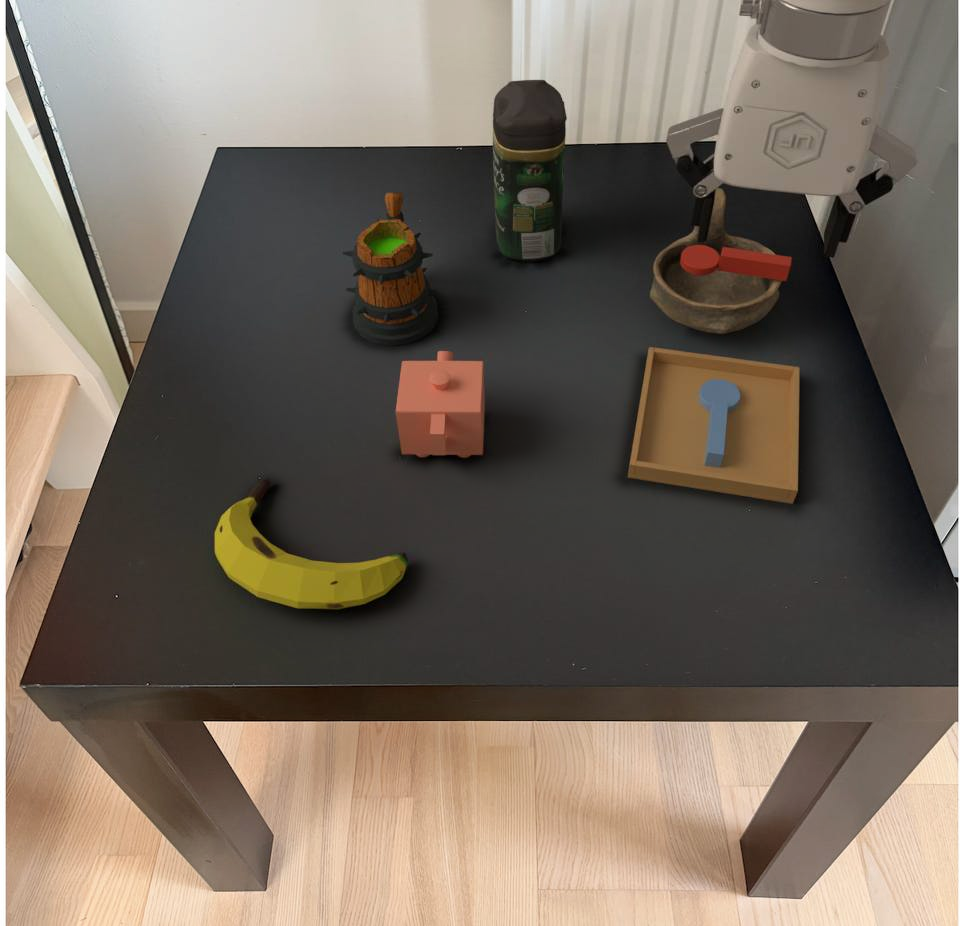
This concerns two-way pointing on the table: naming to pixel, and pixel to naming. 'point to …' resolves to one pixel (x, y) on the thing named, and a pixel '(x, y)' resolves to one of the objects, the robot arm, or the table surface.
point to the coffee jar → (528, 169)
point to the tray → (749, 431)
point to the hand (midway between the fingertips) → (764, 239)
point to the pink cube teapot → (441, 407)
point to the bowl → (712, 283)
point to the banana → (296, 566)
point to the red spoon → (735, 262)
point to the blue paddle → (717, 416)
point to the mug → (391, 281)
